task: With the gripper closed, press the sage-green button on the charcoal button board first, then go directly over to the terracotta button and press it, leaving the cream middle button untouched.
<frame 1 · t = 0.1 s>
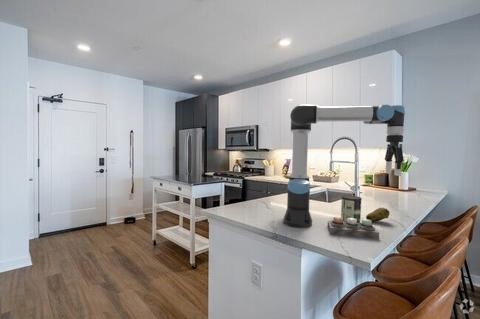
hand: (392, 174, 129), 28 cm above the worktop, fingers open, 13 cm apart
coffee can: (350, 222, 135), on the worktop
button terracotta: (337, 219, 119), point 6 cm above the worktop, slide at 0.0 cm
button cream: (351, 221, 117), point 6 cm above the worktop, slide at 0.0 cm
button sage: (366, 222, 116), point 6 cm above the worktop, slide at 0.0 cm
button board: (351, 232, 118), on the worktop
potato: (376, 222, 136), on the worktop
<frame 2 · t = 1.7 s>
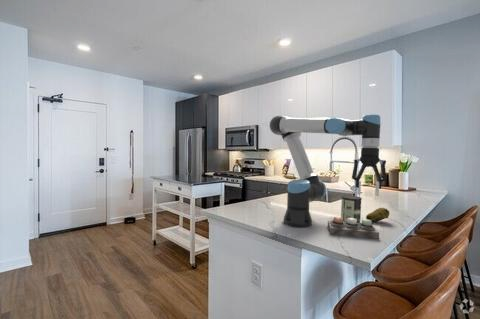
hand: (367, 194, 115), 19 cm above the worktop, fingers open, 7 cm apart
nothing on the worktop moved.
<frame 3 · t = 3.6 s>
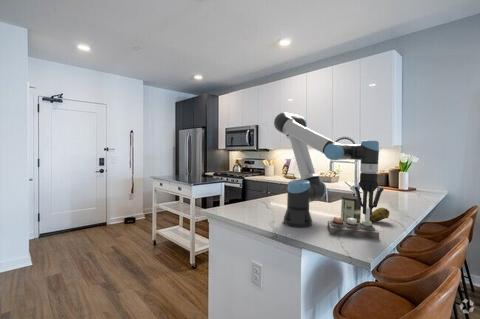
hand: (366, 221, 116), 6 cm above the worktop, fingers closed
button sage: (366, 223, 116), point 5 cm above the worktop, slide at 0.6 cm, touching gripper
everything else where it was.
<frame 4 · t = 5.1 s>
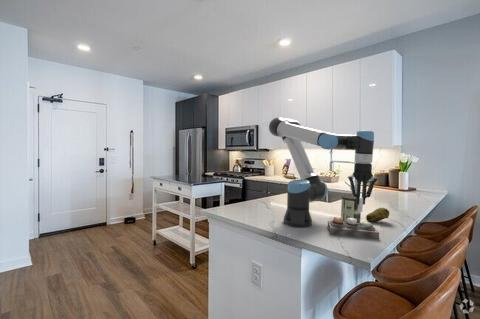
hand: (359, 210, 117), 11 cm above the worktop, fingers closed
button sage: (366, 225, 116), point 4 cm above the worktop, slide at 1.3 cm
everything else where it was.
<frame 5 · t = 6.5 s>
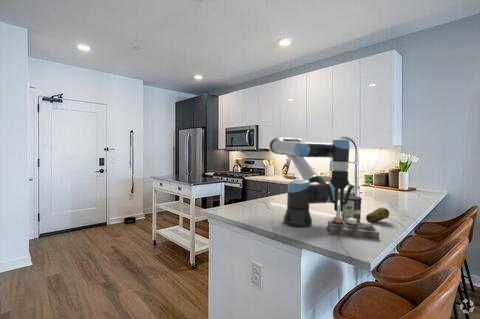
hand: (338, 217, 119), 7 cm above the worktop, fingers closed
button terracotta: (337, 219, 119), point 6 cm above the worktop, slide at 0.0 cm, touching gripper
everything else where it was.
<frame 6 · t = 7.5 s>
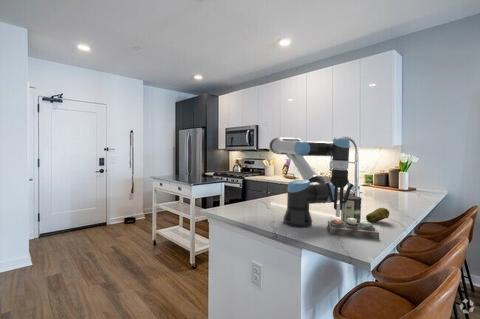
hand: (337, 216, 119), 7 cm above the worktop, fingers closed
button terracotta: (337, 222, 119), point 4 cm above the worktop, slide at 1.3 cm
everything else where it was.
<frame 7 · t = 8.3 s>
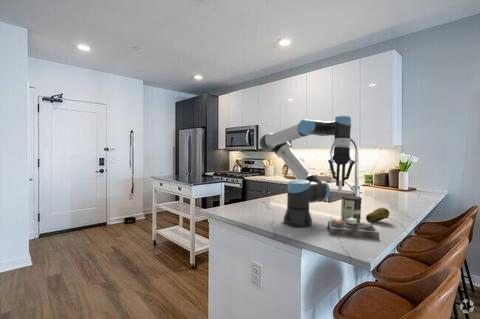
hand: (339, 192, 123), 19 cm above the worktop, fingers closed
nothing on the worktop moved.
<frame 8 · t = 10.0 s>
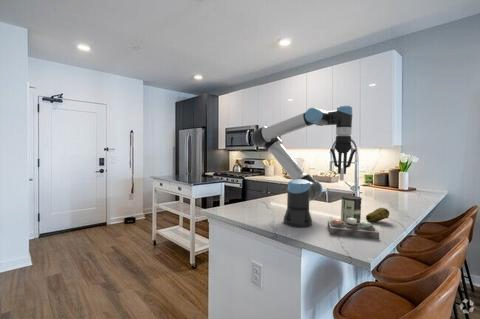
hand: (341, 180, 127), 24 cm above the worktop, fingers closed
nothing on the worktop moved.
at the end: button sage slide at 1.3 cm; button terracotta slide at 1.3 cm; button cream slide at 0.0 cm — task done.
